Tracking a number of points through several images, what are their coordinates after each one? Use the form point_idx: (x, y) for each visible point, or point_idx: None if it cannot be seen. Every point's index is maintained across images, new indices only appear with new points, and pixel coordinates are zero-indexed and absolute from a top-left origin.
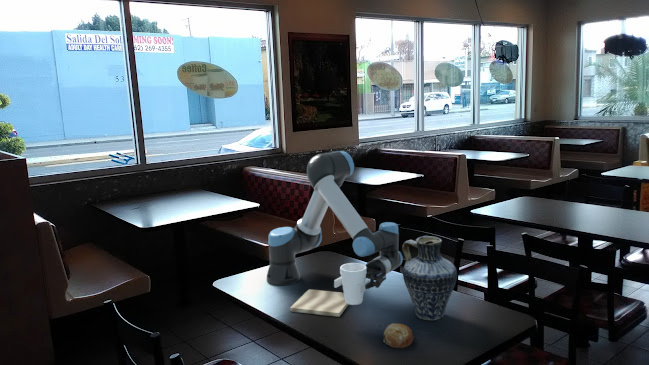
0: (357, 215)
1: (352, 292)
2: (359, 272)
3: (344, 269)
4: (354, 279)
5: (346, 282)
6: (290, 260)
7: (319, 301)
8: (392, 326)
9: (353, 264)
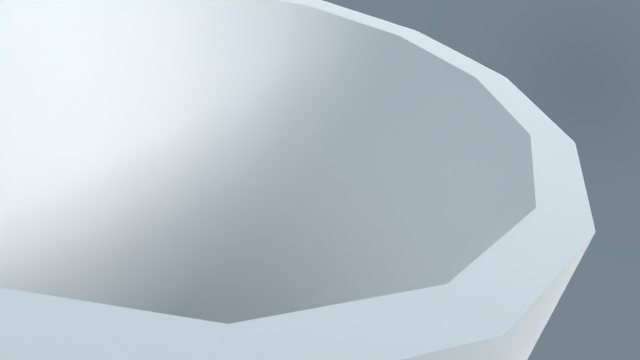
0: None
1: (167, 313)
2: (18, 8)
3: (477, 247)
4: (128, 124)
5: (265, 194)
6: None
7: None
8: None
9: (349, 336)
